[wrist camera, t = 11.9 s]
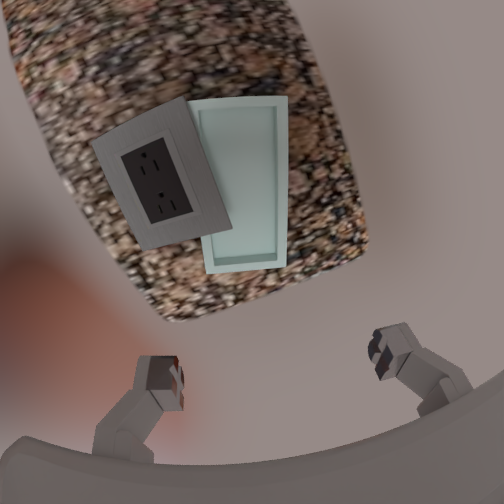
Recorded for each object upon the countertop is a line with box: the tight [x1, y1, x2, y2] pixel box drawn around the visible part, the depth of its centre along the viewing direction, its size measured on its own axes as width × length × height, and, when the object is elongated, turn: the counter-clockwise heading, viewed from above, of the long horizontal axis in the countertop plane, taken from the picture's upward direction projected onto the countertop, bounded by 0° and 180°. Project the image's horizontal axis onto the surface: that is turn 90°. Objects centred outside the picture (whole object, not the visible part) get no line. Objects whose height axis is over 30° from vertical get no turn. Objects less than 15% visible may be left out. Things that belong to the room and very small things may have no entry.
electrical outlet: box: [91, 96, 233, 251], centre depth 25 cm, size 13×10×2 cm
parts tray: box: [186, 96, 288, 274], centre depth 27 cm, size 18×9×2 cm, turn 2°
